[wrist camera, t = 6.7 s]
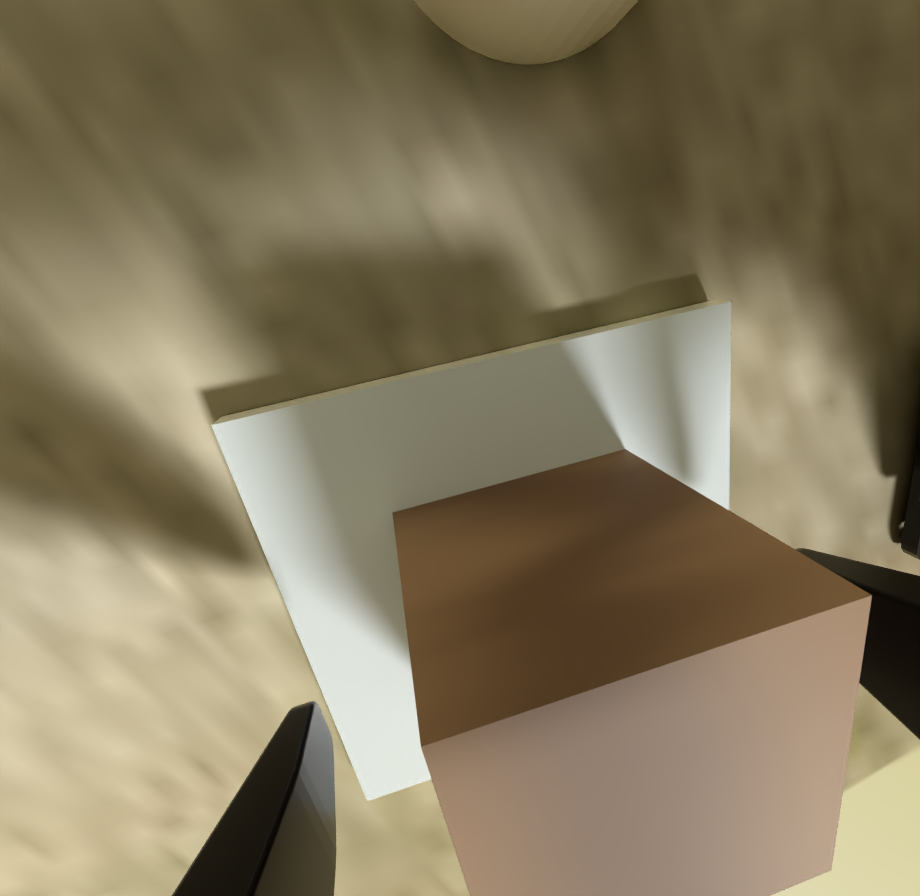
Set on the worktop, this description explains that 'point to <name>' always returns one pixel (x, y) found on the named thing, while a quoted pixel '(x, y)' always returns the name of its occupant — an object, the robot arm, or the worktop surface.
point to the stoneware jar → (526, 26)
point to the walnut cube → (627, 686)
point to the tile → (455, 484)
